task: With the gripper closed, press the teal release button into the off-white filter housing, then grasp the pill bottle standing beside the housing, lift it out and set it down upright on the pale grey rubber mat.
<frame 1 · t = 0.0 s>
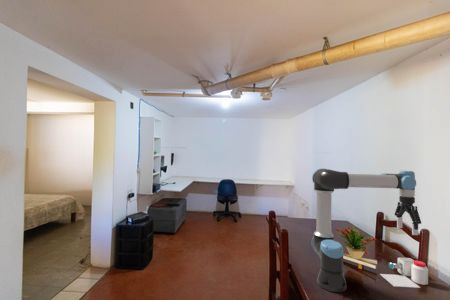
hand: (407, 231, 147), 28 cm above the table, fingers open, 13 cm apart
plunger: (398, 266, 152), point 4 cm above the table, slide at 0.0 cm
pill bottle: (419, 281, 142), on the table
housing: (407, 273, 151), on the table
mat: (399, 281, 142), on the table
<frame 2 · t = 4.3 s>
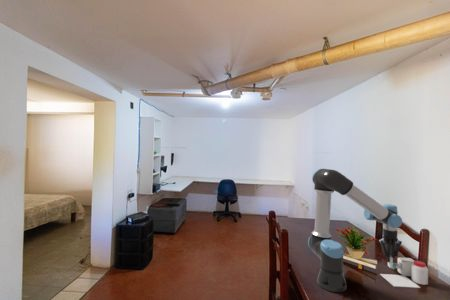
hand: (390, 267, 152), 4 cm above the table, fingers closed
plunger: (399, 266, 152), point 5 cm above the table, slide at 0.7 cm, touching gripper
everything else where it was.
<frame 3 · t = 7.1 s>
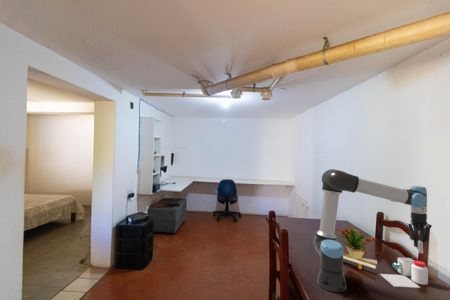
hand: (419, 252, 143), 17 cm above the table, fingers closed
plunger: (402, 266, 151), point 4 cm above the table, slide at 2.4 cm
everything else where it was.
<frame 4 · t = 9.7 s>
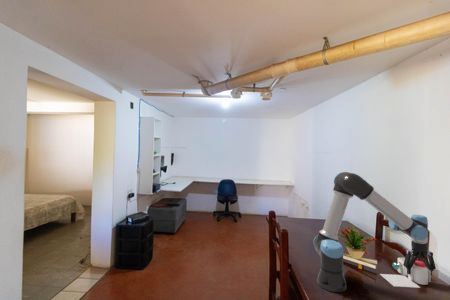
hand: (419, 280, 142), 1 cm above the table, fingers open, 9 cm apart
nothing on the table moved.
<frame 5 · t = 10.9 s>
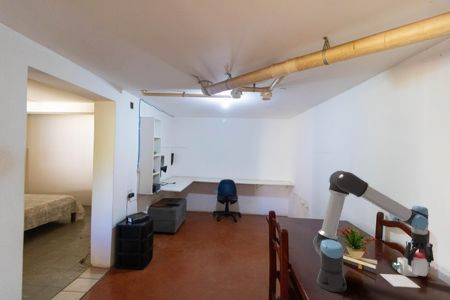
hand: (418, 271, 142), 6 cm above the table, fingers closed on pill bottle, 8 cm apart
pill bottle: (418, 273, 142), point 5 cm above the table, touching gripper
everything else where it was.
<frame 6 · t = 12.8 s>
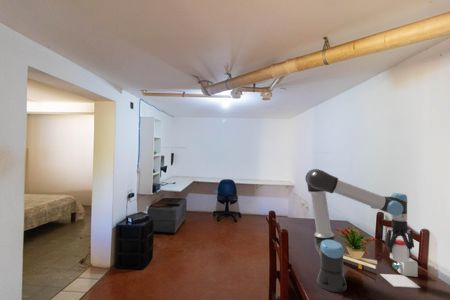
hand: (399, 258, 142), 13 cm above the table, fingers closed on pill bottle, 8 cm apart
pill bottle: (399, 260, 142), point 12 cm above the table, touching gripper
everything else where it was.
when the fingers open (3 cm above the table, at t = 14.9 s): pill bottle drops 2 cm, resting on mat.
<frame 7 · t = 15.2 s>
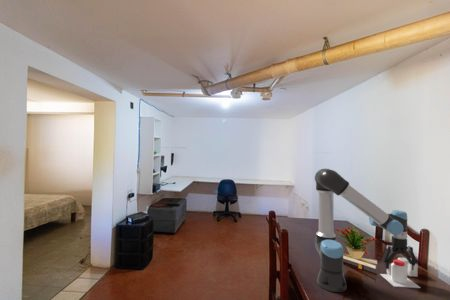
hand: (399, 274, 142), 4 cm above the table, fingers open, 11 cm apart
pill bottle: (399, 280, 142), resting on mat
everything else where it was.
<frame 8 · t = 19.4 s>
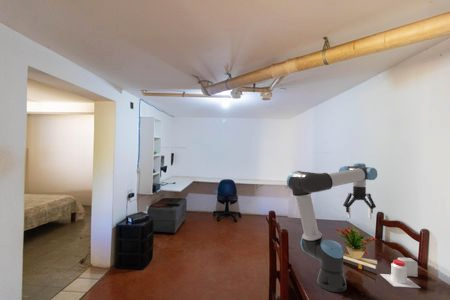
hand: (359, 217, 163), 32 cm above the table, fingers open, 13 cm apart
nothing on the table moved.
at the end: plunger slide at 2.4 cm; pill bottle inside the target area on the mat (0.1 cm from its centre), point 0.2 cm above the mat's base; pill bottle tilted 0° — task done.
